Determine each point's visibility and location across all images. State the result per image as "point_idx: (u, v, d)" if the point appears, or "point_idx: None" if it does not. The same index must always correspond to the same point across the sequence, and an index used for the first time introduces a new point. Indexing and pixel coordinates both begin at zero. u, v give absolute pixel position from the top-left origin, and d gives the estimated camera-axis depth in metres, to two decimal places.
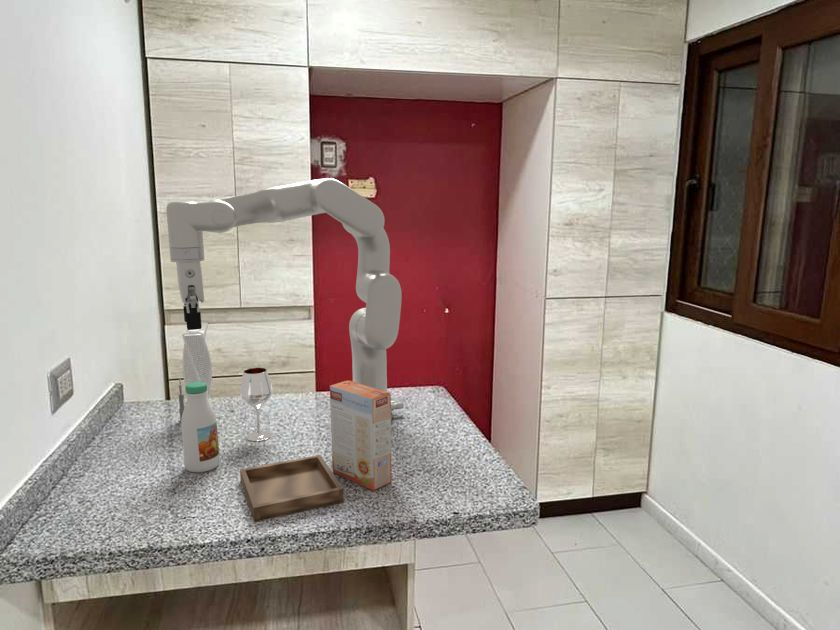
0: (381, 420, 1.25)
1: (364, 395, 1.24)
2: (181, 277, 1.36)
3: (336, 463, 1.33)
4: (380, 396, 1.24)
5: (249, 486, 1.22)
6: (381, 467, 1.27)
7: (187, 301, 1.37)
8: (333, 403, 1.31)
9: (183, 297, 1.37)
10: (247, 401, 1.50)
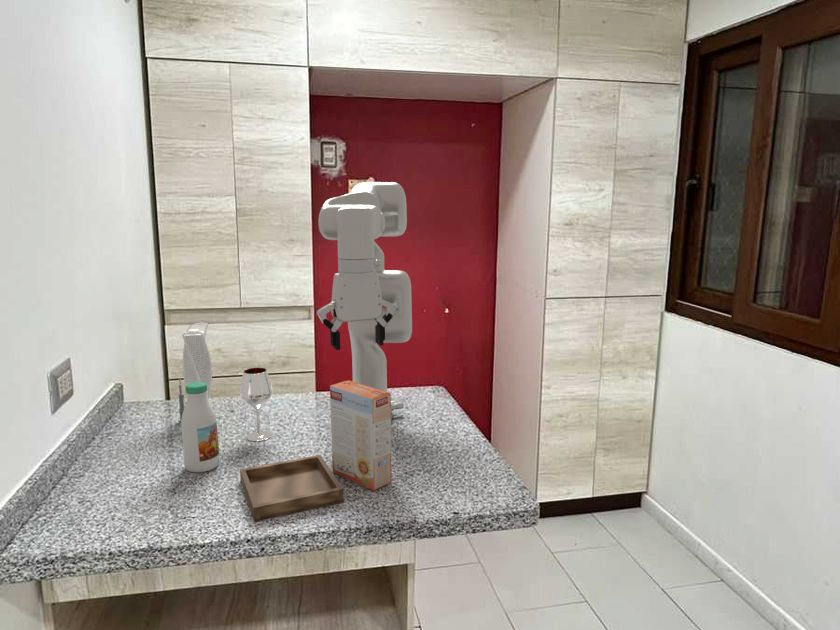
0: (381, 420, 1.25)
1: (364, 395, 1.24)
2: (380, 289, 1.24)
3: (336, 463, 1.33)
4: (380, 396, 1.24)
5: (249, 486, 1.22)
6: (381, 467, 1.27)
7: None
8: (333, 403, 1.31)
9: (381, 310, 1.25)
10: (247, 401, 1.50)
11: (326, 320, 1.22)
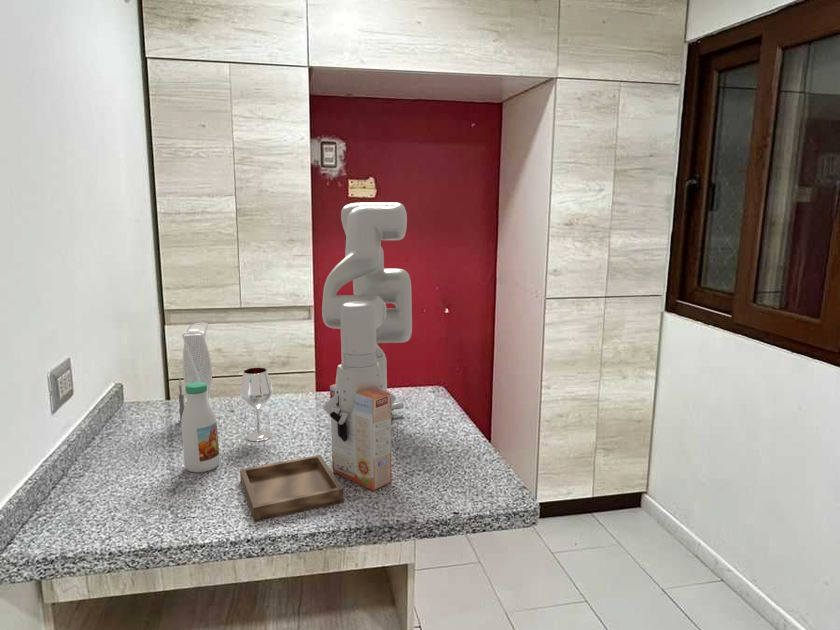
0: (381, 420, 1.25)
1: (364, 395, 1.24)
2: (381, 379, 1.28)
3: (336, 463, 1.33)
4: (380, 396, 1.24)
5: (249, 486, 1.22)
6: (381, 467, 1.27)
7: None
8: None
9: None
10: (247, 401, 1.50)
11: (333, 413, 1.26)
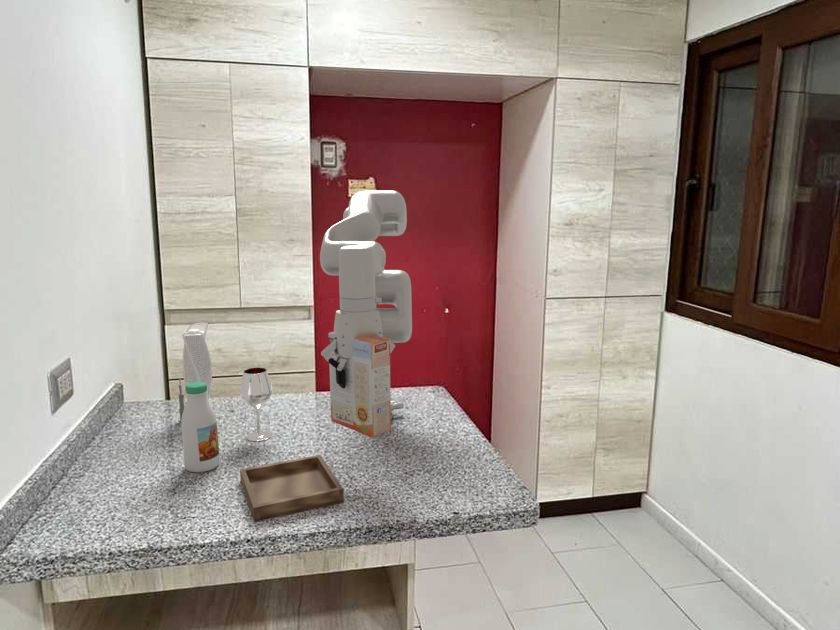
0: (380, 365, 1.23)
1: (363, 340, 1.22)
2: (380, 326, 1.26)
3: (335, 412, 1.32)
4: (379, 341, 1.22)
5: (249, 486, 1.22)
6: (380, 414, 1.25)
7: None
8: None
9: None
10: (247, 401, 1.50)
11: (332, 360, 1.24)
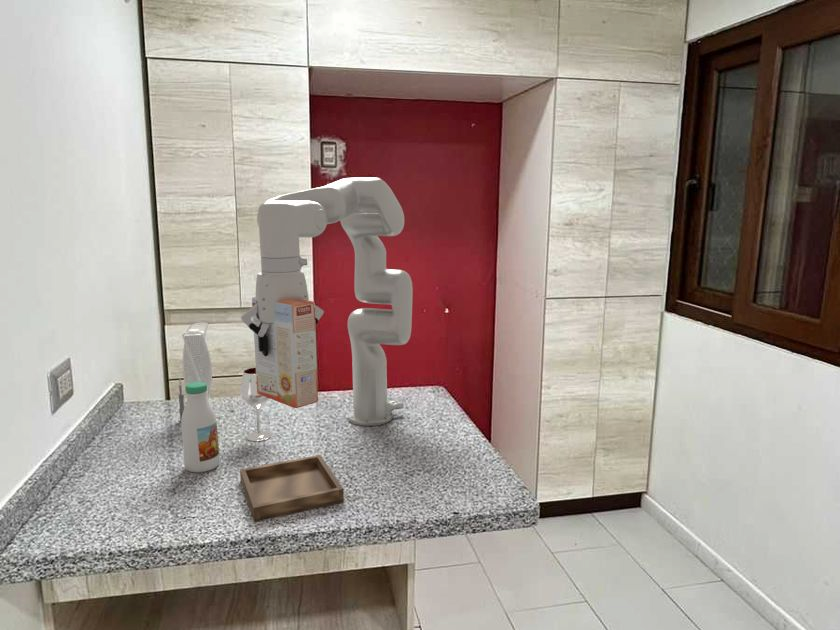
0: (304, 330, 1.14)
1: (284, 303, 1.14)
2: (306, 289, 1.18)
3: (260, 384, 1.23)
4: (302, 303, 1.13)
5: (249, 486, 1.22)
6: (305, 383, 1.16)
7: None
8: (256, 317, 1.20)
9: None
10: (247, 401, 1.50)
11: (252, 325, 1.15)
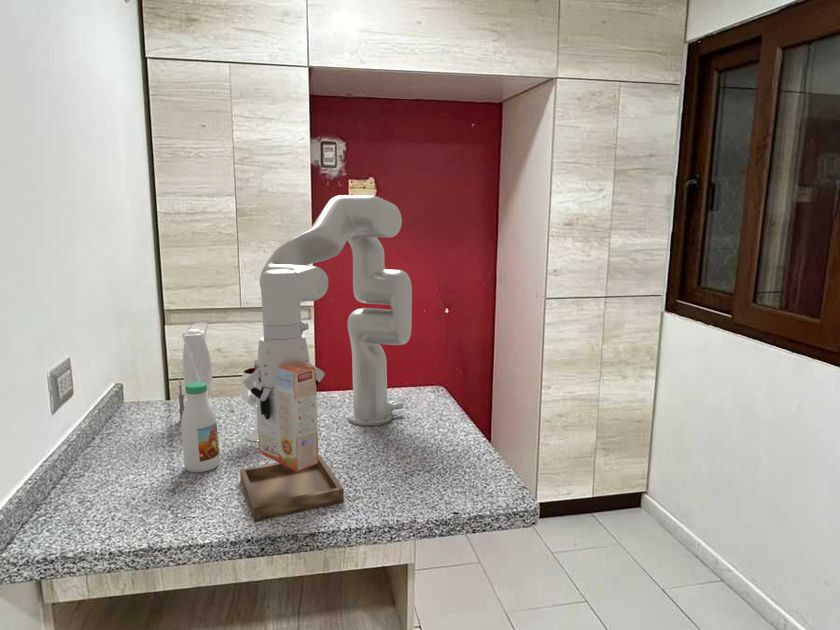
0: (304, 395, 1.17)
1: (286, 369, 1.16)
2: (307, 353, 1.20)
3: (262, 444, 1.25)
4: (303, 370, 1.16)
5: (249, 486, 1.22)
6: (305, 447, 1.18)
7: None
8: None
9: None
10: (247, 401, 1.50)
11: (254, 389, 1.18)
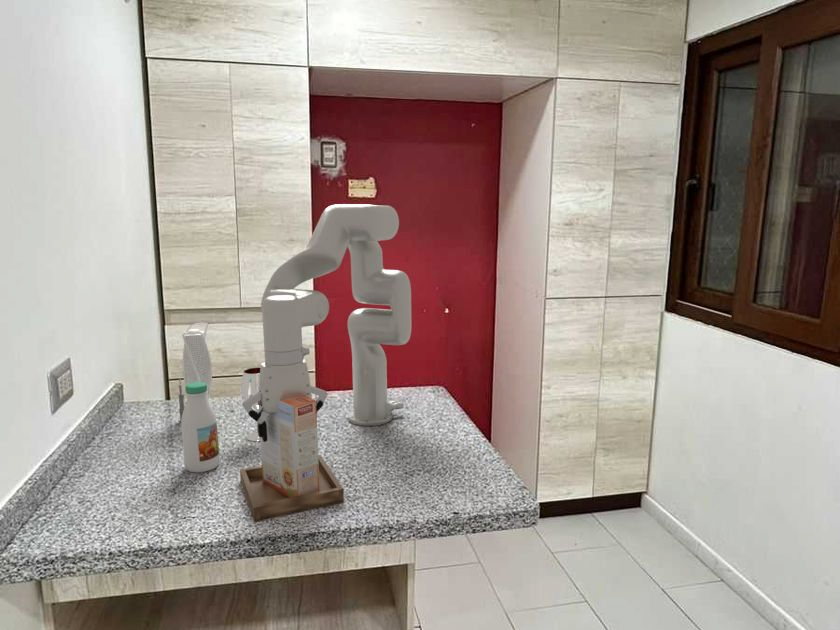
0: (305, 428, 1.18)
1: (287, 402, 1.17)
2: (308, 378, 1.21)
3: (265, 473, 1.27)
4: (303, 403, 1.17)
5: (249, 486, 1.22)
6: (306, 478, 1.20)
7: None
8: None
9: None
10: None
11: (252, 412, 1.19)
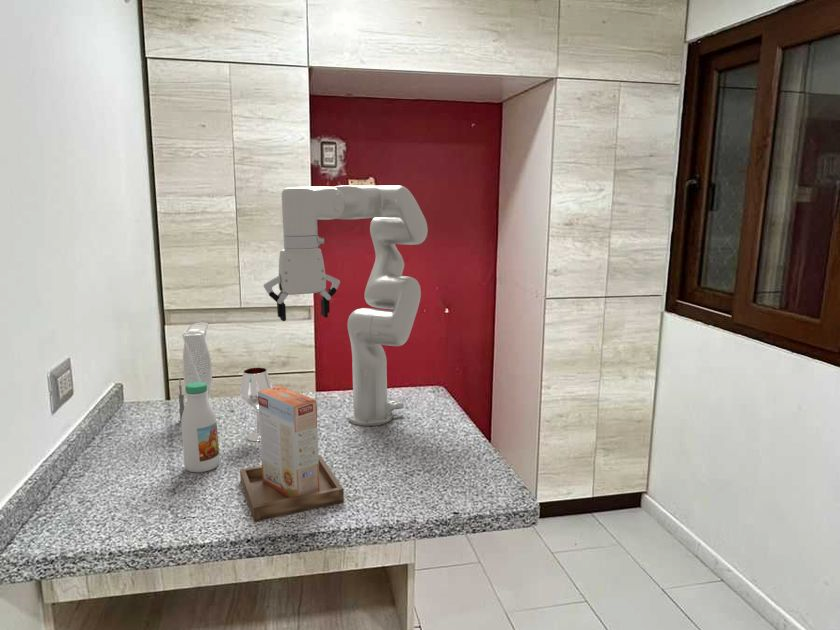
0: (305, 428, 1.18)
1: (287, 402, 1.17)
2: (323, 264, 1.34)
3: (265, 473, 1.27)
4: (304, 403, 1.17)
5: (249, 486, 1.22)
6: (306, 478, 1.20)
7: None
8: (261, 410, 1.25)
9: (325, 284, 1.35)
10: (247, 401, 1.50)
11: (272, 293, 1.31)
